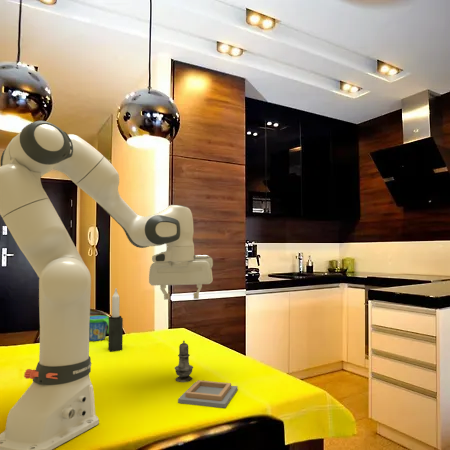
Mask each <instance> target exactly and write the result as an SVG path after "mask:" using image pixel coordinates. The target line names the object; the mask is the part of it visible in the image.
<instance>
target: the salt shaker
mask: <svg viewBox="0 0 450 450" xmlns="http://www.w3.org/2000/svg"><path fill="white" fill-rule="evenodd" d="M178 347H179V352H178V353H179V354H178V355H177V357H178V365H176V366H175V367H174V370H175V373H176V375H177V377H176V378H175V381H176V382H178V383H188V382H191V381H192V380H193V377H191V376H190V375H191V374H192V372H193V369H194V366H193V365H191V364H190V359H189V357H190V355H191V354H189V344H188V343H186V342H185V340H183V341H182V342H181V343H180V344H179V346H178Z"/></svg>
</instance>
